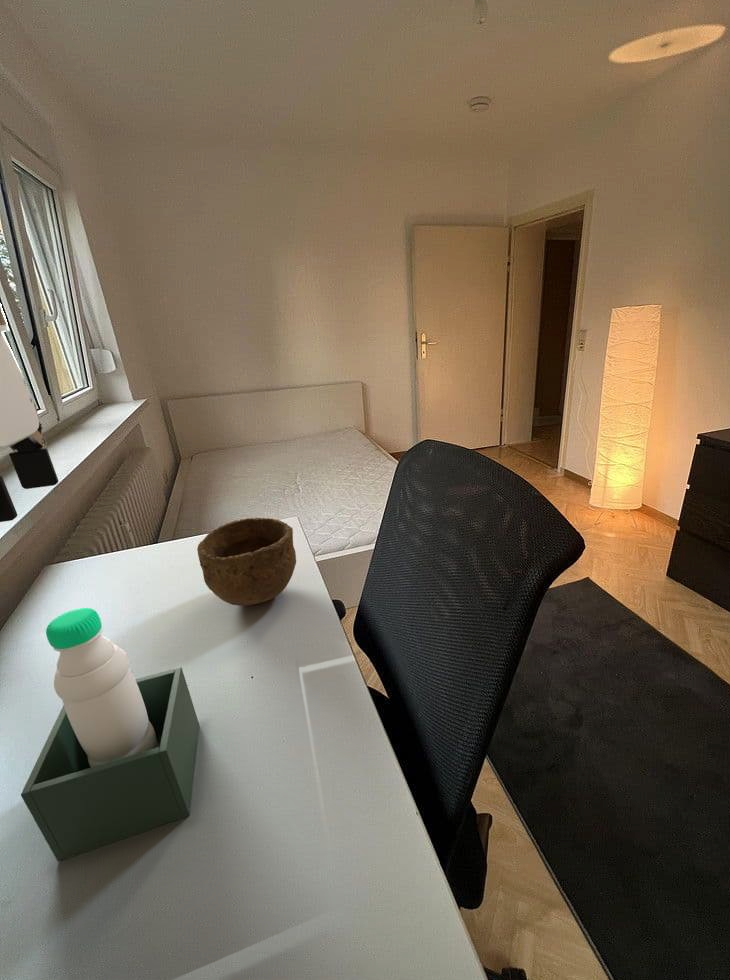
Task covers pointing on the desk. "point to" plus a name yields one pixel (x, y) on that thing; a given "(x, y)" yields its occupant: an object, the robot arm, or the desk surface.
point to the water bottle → (98, 689)
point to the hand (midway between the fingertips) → (20, 502)
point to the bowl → (248, 560)
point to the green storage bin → (117, 776)
